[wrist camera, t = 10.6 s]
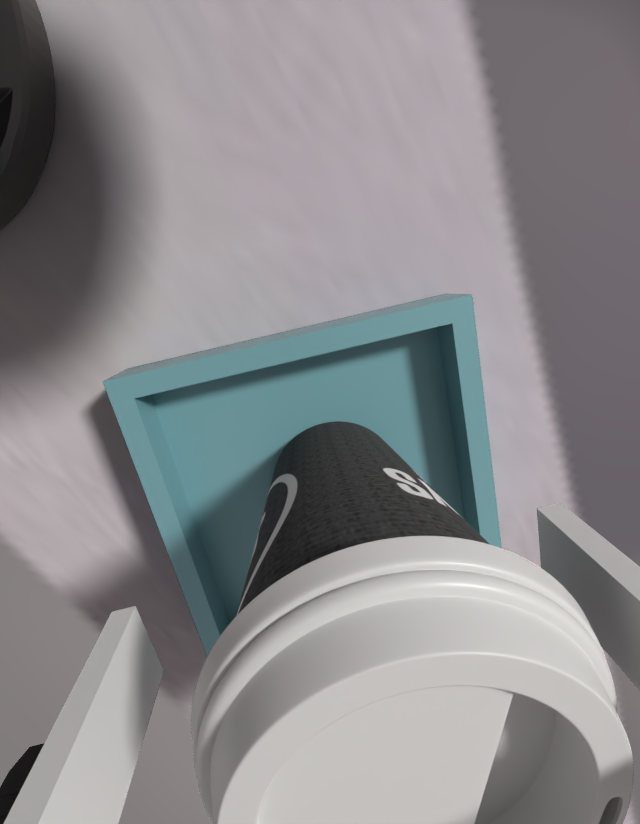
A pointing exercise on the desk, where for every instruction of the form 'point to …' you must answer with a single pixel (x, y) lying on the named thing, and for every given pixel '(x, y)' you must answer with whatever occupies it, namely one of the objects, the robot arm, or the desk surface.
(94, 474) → the desk surface
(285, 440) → the tray
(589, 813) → the coffee cup
